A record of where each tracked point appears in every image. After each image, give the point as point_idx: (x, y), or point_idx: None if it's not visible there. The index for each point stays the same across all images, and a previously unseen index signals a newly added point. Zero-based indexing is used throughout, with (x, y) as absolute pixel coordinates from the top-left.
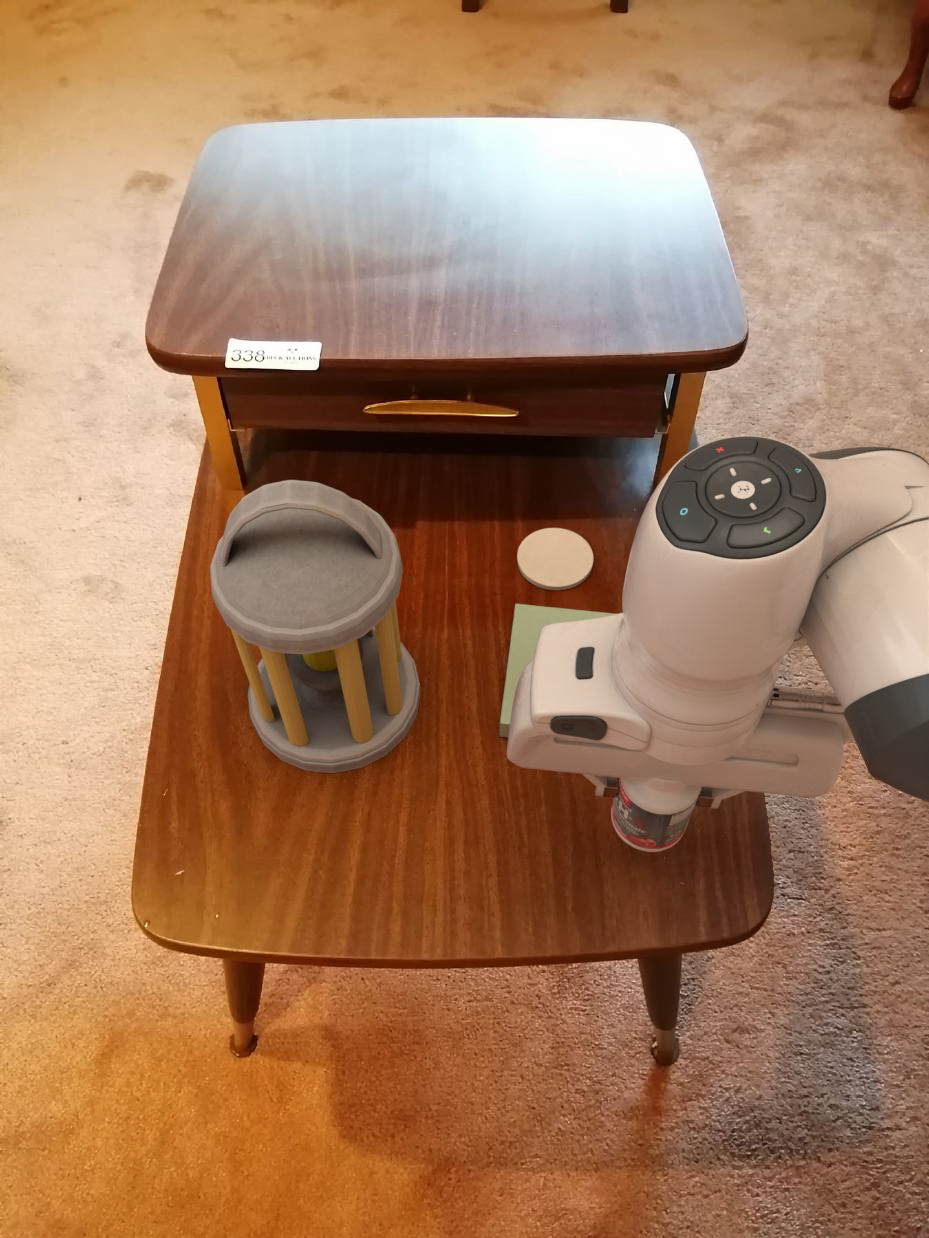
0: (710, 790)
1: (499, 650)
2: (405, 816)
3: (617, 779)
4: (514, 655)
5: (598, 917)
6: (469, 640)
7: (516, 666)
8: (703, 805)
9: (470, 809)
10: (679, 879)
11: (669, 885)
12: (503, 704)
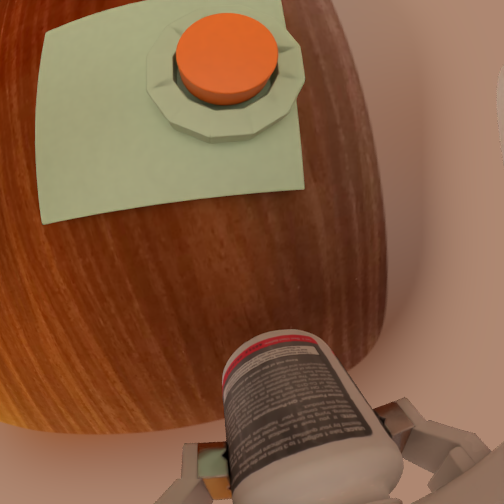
0: (401, 448)
1: None
2: (23, 337)
3: (229, 490)
4: (42, 106)
5: None
6: (14, 97)
7: (45, 122)
8: None
9: (66, 321)
10: None
11: None
12: (38, 192)
